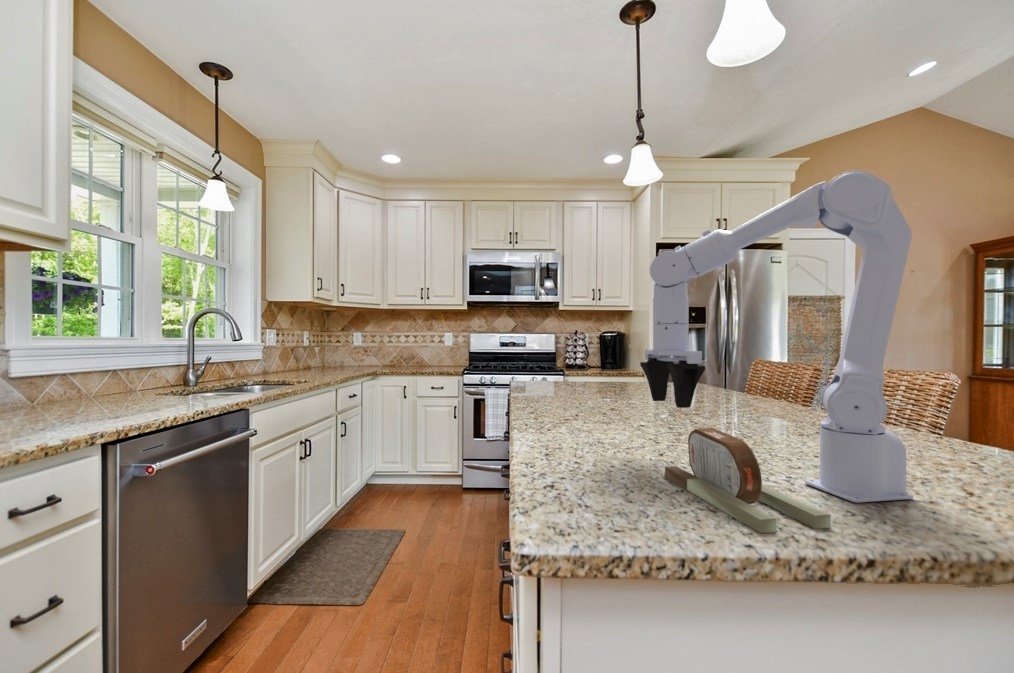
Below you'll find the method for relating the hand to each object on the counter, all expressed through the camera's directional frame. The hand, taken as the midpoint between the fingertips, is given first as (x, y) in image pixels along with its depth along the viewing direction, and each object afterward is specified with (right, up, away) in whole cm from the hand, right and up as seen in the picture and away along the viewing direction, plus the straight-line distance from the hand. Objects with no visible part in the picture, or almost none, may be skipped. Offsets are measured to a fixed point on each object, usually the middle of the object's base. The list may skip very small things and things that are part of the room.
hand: (670, 403), depth 74 cm
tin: (+2, -11, -13) cm, 17 cm away
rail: (+3, -10, -15) cm, 19 cm away
